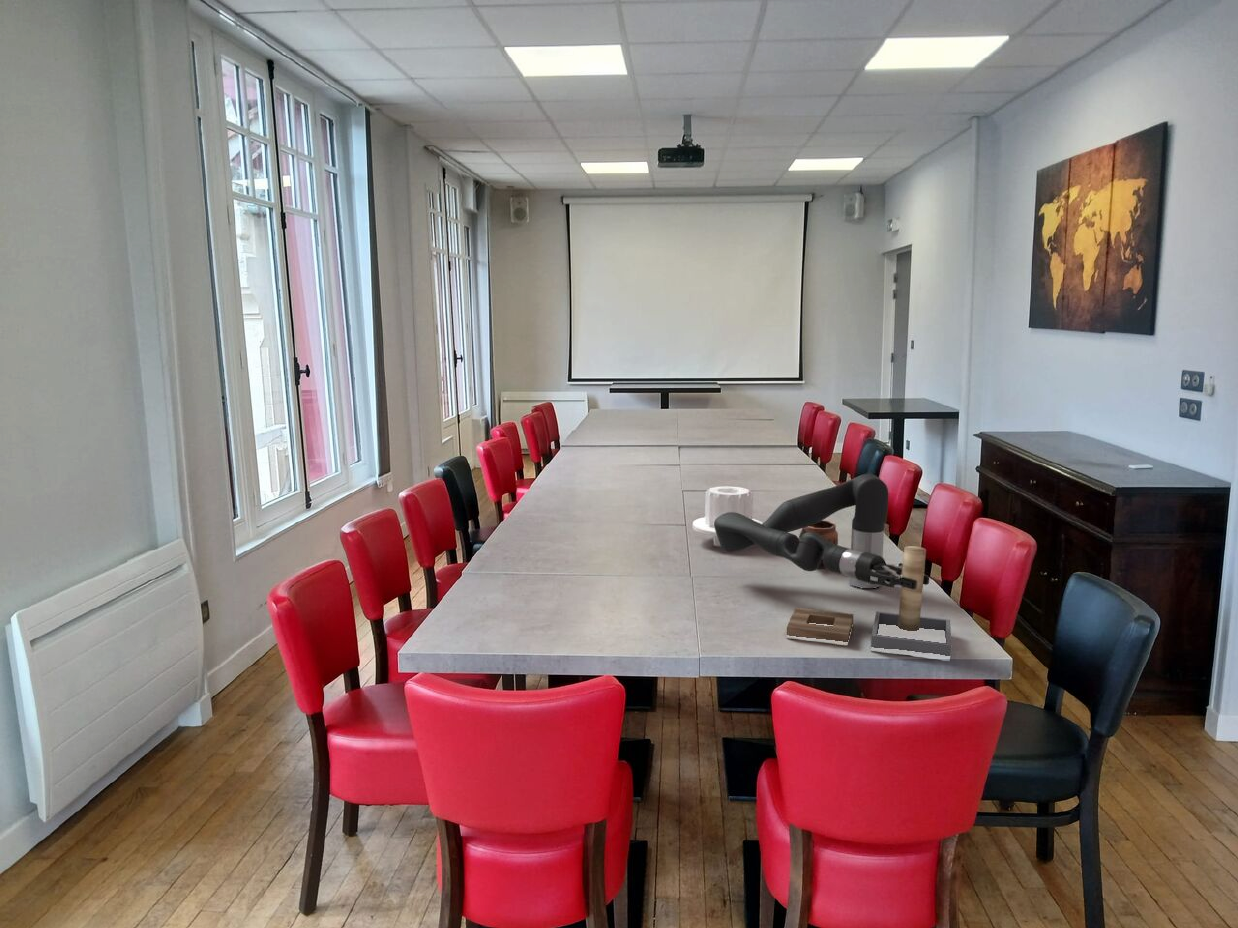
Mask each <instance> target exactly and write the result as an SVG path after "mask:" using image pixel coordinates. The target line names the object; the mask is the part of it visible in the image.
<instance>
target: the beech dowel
mask: <svg viewBox="0 0 1238 928" xmlns="http://www.w3.org/2000/svg"><path fill="white" fill-rule="evenodd" d="M903 549H904V550H903V559H902V564H903V570H902V575H901V578H902V577H906V578H910V579H913V580H916V581H917V588H916V589H910V588H907V587H903V586H900V597H899V608H898V614H899V618H898V627H899V628H900V629H903V630H907V631H917V630H919V624H920V616H921V614H922V613H921V610H922V601H923V590H924V584H923V579H924V575H925V569H926V566H925V565H926V554H927V549H926V548H924V547H921V546H913V545H912V546H910V545H908V546H904V548H903Z"/></svg>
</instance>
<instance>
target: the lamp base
mask: <svg viewBox="0 0 1238 928" xmlns="http://www.w3.org/2000/svg"><path fill="white" fill-rule="evenodd" d="M704 494H705V495H704V496H705V497H704V498H705V499H704V500H705V501H704V503H705V504H704V516H703V517H699V518H697V519H694V520H693V522H692V529H693V530H694V531H696V532H698V533H700V534H704V535H709V536H712V537H713V539H712V540H713V546H714V547H721V545H720V542H719V539H718V537H717V534H716V531H715V527H714V522H715V520H716V519H717V518H718V517H719V516H720V515H722V514H725V513H728V512H735V513H739V514H741V515H744V516H746V517H748V518H750V519H752V520H754V521H756V522H758V523H760V524H763V523H764V522H762V521H761V520H758V519H755V518H753V509H754V507H753V506H754V505H753V503H754V494H753V492H752V490H749V488H744V487H740V486H729V485H728V486H725V485H724V486H714V487H709V488H708V489H707V490H706V491H705V493H704Z"/></svg>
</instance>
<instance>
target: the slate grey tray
mask: <svg viewBox="0 0 1238 928" xmlns="http://www.w3.org/2000/svg"><path fill="white" fill-rule="evenodd" d="M898 618H899V613H897V612H896V613H895V612H894V613H893V612H886V611H877V610H876V611H875V615H874V621H873V625H872V626H873V627H872V632H871V641H870V642H871V643H870V648H871V647H874V648H884V649H899V650H907V651H915V652H922V653H933V654H940V655H945V656H951V657H952V633H951V631H952V630H951V629H952V627H951V619H949V618H940V617H930V616H923V615H920V624H919V628H924V629H935V630H944V631H945V638H946V643H939V642H931V641H923V640H915V639H907V638H898V637H890V636H882V635H877V634H878V629H879V624H886V625H896V626H898Z"/></svg>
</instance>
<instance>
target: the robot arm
mask: <svg viewBox="0 0 1238 928" xmlns="http://www.w3.org/2000/svg"><path fill="white" fill-rule="evenodd" d="M850 507H855V508H854V517H853V518H852V521H851V542H850V543H851V545H850V548H848V547H845V546H841V545H836V544H834V543H832V542H830V541H828V540H827V539H825V538H824V537H822V536H821V535H819V534H817V533H815V532H806V533H804V534H803V535H802V537H801V539H800V541H799V536H797V535H796V534H793V533H791V532H793V531H794V532H795V531H798V530H800V529H803V528H805V527H808V526H811V525H813V524H816V523H818V522H820V521H822V520H825V519H827V518H828V517H830V516H831V515H833V514H835V513H837V512H839V511H841V510H844V509H848V508H850ZM888 508H889V489H888V486H887V484H886V483H885V481H883V480H882V479H881V478H880V477H878V476H877V475H875V474H872V473H864V474H861V475H858V476H856V477H853V478H852V479H849V480H847V481H845V482H842V483H840V484H837V485H835V486H832V487H828V488H825V489H821V490H817V491H814V492H810V493H807V494H803V495H799V496H796V497H794V498H792V499H788V500H786V501H784V502H782V503H781V504H780V505H779V506H778V507H777V508H776V509H775V510H774V511H773V512H772V514H771V515H770V516H769V517H768V518H767V519H766V520H765V521H763V522H762V523H763V524H760V523H758V522H756V521H754V520H752V519H753V518H752V519H750V518H748V517H746V516H744V515H741V514H739V513H735V512H728V513H725V514H722V515H720V516H719V517H718V518H717V519H716V520H715V522H714V527H715V531H716V534H717V537H718V539H719V542H720V545H721V546H720V547H721V549H722V551H724V553H725V552H726V553H736V552H740V551H743V550H746V549H748V548H751V547H752V546H755V545H756V546H758V547H759V548H760V549H761V550H763V551H764V552H766V553H768V554H771V555H774V556H777V557H780V558H784V559H786V560H788V561H790V562H792V563H793V564H794V565H796V566H797V567H799V569H802V570H803V571H806V572H814V571H817V570H818V569H819V568H820V567H819V565H820V563H821V560H822V557H823V563H824V566H825V567H824V568H825V569H826V570H828V571H830V572H833V573H837V574H841V575H844V576H846V577H848V578H849V579H848V580H849V581H848V583H849V582H850V584H852V585H854V586H857V587H862V588H875V587H879V586H880V585H881V586H884V587H889V588H895V586H896V587H901V586H903V587H907V588H910V589H916V588H917V581H916V580H913V579H910V578H906V577H902V570H903V562H900V563H898V565H895V564H893V563H888V564H887V563H886V561H885V558H884V540H885V526H886V522H887V518H888V510H889V509H888ZM823 554H824V556H823ZM929 583H930V576H929V575H926V574H924V579H923V585H924V586H926V585H929ZM850 584H849V585H850ZM852 585H851V586H852ZM854 586H853V587H854ZM857 587H856V588H857ZM862 588H861V589H862ZM879 588H880V587H879Z"/></svg>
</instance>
